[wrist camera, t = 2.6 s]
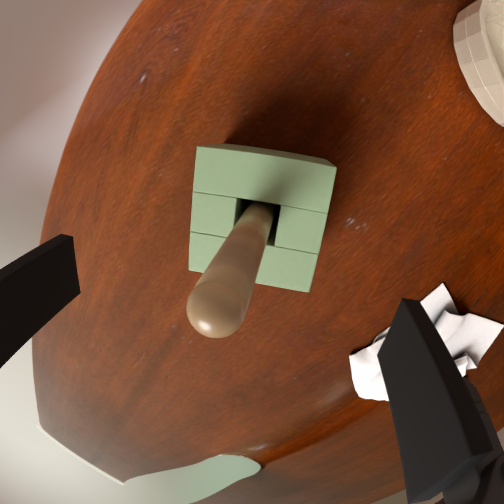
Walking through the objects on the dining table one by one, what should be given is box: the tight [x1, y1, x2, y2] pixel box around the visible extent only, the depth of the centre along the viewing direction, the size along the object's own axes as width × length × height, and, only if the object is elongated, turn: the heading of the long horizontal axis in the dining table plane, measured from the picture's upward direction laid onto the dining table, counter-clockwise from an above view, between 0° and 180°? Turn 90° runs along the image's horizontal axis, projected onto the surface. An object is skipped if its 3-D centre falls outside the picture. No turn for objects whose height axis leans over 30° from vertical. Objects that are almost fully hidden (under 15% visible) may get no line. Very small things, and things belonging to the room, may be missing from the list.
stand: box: [189, 143, 337, 292], centre depth 22 cm, size 9×9×7 cm
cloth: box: [349, 283, 504, 401], centre depth 28 cm, size 20×22×2 cm
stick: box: [186, 200, 277, 338], centre depth 17 cm, size 2×2×18 cm
